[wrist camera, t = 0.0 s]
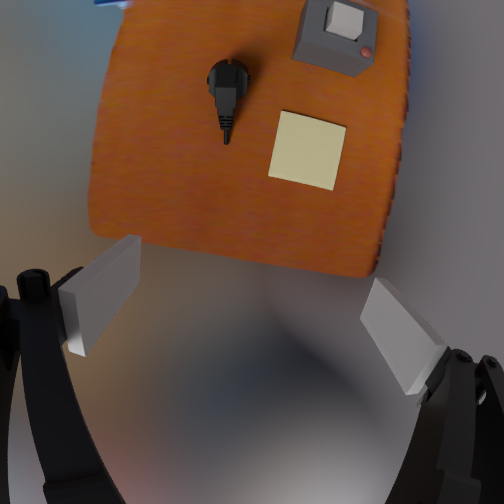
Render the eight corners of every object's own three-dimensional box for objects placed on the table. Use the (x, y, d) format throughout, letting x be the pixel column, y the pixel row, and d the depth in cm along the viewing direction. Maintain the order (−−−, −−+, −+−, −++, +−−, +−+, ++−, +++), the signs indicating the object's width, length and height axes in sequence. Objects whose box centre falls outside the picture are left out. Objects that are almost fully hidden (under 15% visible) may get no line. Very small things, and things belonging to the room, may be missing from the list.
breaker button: (326, 13, 26) (334, 1, 22) (353, 22, 26) (363, 11, 22) (323, 33, 27) (331, 22, 23) (351, 43, 28) (361, 32, 24)
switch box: (301, 11, 30) (311, -13, 23) (359, 29, 31) (379, 10, 24) (291, 59, 34) (301, 38, 26) (353, 77, 34) (375, 63, 27)
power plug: (206, 146, 37) (202, 69, 27) (213, 120, 41) (212, 53, 31) (245, 147, 37) (249, 70, 27) (248, 121, 41) (252, 54, 31)
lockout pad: (281, 111, 36) (281, 110, 36) (345, 128, 37) (346, 127, 37) (268, 175, 40) (268, 175, 39) (332, 190, 40) (332, 190, 40)
